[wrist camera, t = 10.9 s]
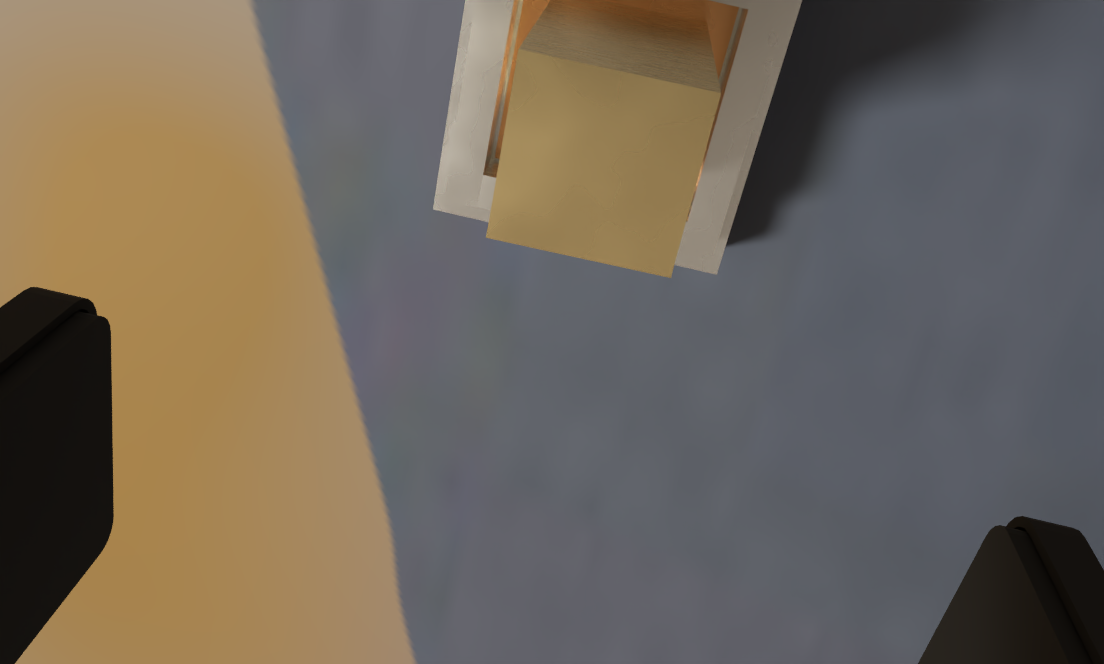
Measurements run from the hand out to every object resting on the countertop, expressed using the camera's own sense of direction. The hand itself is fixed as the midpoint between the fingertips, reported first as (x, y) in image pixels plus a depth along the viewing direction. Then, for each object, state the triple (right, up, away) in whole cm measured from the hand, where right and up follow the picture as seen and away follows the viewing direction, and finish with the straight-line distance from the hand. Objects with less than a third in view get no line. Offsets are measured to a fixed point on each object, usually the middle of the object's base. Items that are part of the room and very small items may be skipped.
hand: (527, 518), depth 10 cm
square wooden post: (+2, +9, +18) cm, 20 cm away
